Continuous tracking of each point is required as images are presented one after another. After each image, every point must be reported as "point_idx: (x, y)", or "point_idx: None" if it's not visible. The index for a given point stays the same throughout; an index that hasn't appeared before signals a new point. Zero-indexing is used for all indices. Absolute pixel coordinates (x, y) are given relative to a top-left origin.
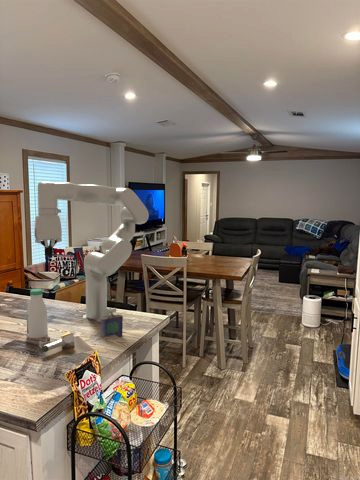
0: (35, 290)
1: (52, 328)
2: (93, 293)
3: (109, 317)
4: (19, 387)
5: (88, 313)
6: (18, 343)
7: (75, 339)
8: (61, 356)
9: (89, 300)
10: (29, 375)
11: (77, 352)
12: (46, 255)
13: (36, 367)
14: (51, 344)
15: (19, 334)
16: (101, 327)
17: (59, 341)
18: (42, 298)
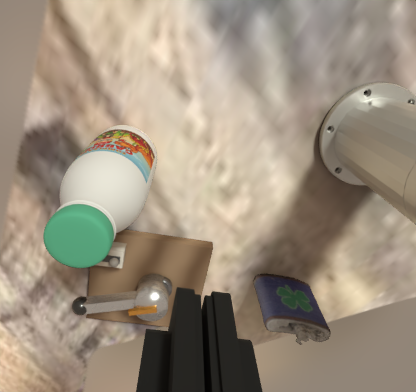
0: (68, 250)
1: (201, 112)
2: (394, 204)
3: (296, 322)
4: (9, 345)
5: (343, 147)
6: (62, 155)
7: (193, 262)
8: (117, 316)
9: (370, 172)
10: (37, 321)
11: (156, 321)
12: (172, 309)
13: (60, 303)
14: (98, 309)
15: (86, 83)
16: (260, 306)
17: (123, 306)
18: (117, 228)
